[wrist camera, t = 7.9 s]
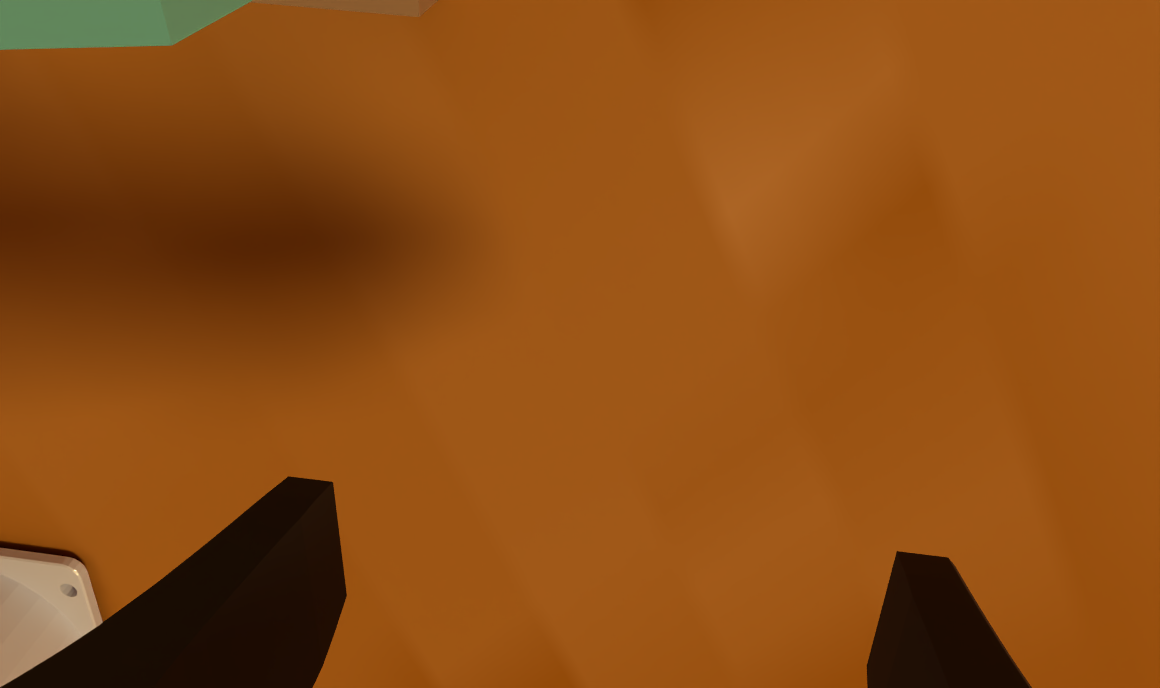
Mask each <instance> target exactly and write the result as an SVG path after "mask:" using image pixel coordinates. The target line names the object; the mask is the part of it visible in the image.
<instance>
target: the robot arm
mask: <svg viewBox="0 0 1160 688" xmlns="http://www.w3.org/2000/svg"><path fill="white" fill-rule="evenodd" d="M346 596H347V594H346V586H345V578H344V569H343V561H342V553H341V545H340V537H339V528H338V520H337V512H336V504H335V495H334V487H333V482H329V481H321V480H313V479H304V478H296V477H287V478H286V479H285V480H283V481H282V482H281V483H280V484H278V485H277V486H276V487H275V488H273V489H272V490H271V491H270V492H268V493H267V494H266V495H265V496H263V497H262V498H261V499H260V500H259V501H257V502H256V503H255V504H254V505H253V506H251V507H250V508H249V509H248V510H247V511H245V512H244V513H243V514H242V515H241V516H239V517H238V518H237V519H236V520H234V521H233V522H232V523H231V524H230V525H228V526H227V527H226V528H225V529H224V530H222V531H221V532H220V533H219V534H218V535H216V536H215V537H214V538H213V539H211V540H210V541H209V542H208V543H207V544H205V545H204V546H203V547H202V548H200V549H199V550H198V551H197V552H195V553H194V554H193V555H192V556H190V557H189V558H188V559H186V560H185V561H184V562H183V563H181V564H180V565H179V566H178V567H176V568H175V569H174V570H173V571H171V572H170V573H169V574H168V575H166V576H165V577H164V578H163V579H161V580H160V581H159V582H157V583H156V584H155V585H153V586H152V587H151V588H149V589H148V590H147V591H145V592H144V593H143V594H141V595H140V596H138V597H137V598H136V599H134V600H133V601H132V602H130V603H129V604H127V605H126V606H125V607H123V608H122V609H121V610H119V611H118V612H116V613H115V614H114V615H112V616H111V617H110V618H108V619H107V620H105V621H104V622H102V618H101V615H100V612H99V608H98V605H97V602H96V598H95V595H94V592H93V588H92V585H91V582H90V578H89V575H88V572H87V570H86V568H85V566H84V565H83V564H82V563H81V562H80V561H78V560H76V559H75V558H71V557H66V556H58V555H51V554H44V553H36V552H29V551H22V550H14V549H7V548H0V688H312V687H313V685H314V683H315V681H316V679H317V677H318V675H319V673H320V671H321V668H322V666H323V664H324V661H325V658H326V655H327V652H328V650H329V647H330V644H331V641H332V638H333V636H334V633H335V630H336V627H337V624H338V620H339V617H340V614H341V611H342V608H343V605H344V602H345V599H346ZM867 684H868V688H1032V687H1031V686H1030V684H1029V683H1028V681H1027V680H1026V679H1025V677H1024V676H1023V674H1022V673H1021V671H1020V670H1019V668H1018V667H1017V665H1016V664H1015V662H1014V661H1013V659H1012V658H1011V656H1010V655H1009V653H1008V652H1007V650H1006V649H1005V647H1004V646H1003V644H1002V642H1001V641H1000V639H999V638H998V636H997V635H996V633H995V631H994V630H993V628H992V627H991V625H990V623H989V622H988V620H987V619H986V617H985V615H984V614H983V612H982V611H981V609H980V607H979V606H978V604H977V602H976V601H975V599H974V597H973V596H972V594H971V592H970V591H969V589H968V587H967V586H966V584H965V582H964V581H963V579H962V577H961V576H960V574H959V572H958V570H957V569H956V567H955V566H954V564H953V563H952V562H951V561H950V559H949V558H947V557H939V556H931V555H923V554H915V553H907V552H898V551H897V553H896V557H895V561H894V564H893V568H892V572H891V576H890V580H889V583H888V587H887V591H886V595H885V599H884V603H883V606H882V610H881V614H880V618H879V622H878V625H877V629H876V633H875V637H874V641H873V644H872V648H871V652H870V656H869V660H868V663H867Z"/></svg>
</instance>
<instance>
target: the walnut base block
mask: <svg viewBox="0 0 1160 688" xmlns="http://www.w3.org/2000/svg"><path fill="white" fill-rule="evenodd" d="M437 1H438V0H253V1H251V2H254V3H265V4H277V5H288V6H299V7H311V8H322V9H334V10H345V11H357V12H368V13H380V14H391V15H402V16H414V17H420V16H421V15H422V14H423V13H424V12H425V11H427V10H428V9H429V8H430V7H431V6H432V5H433V4H434V3H435V2H437Z"/></svg>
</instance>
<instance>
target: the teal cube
mask: <svg viewBox="0 0 1160 688" xmlns="http://www.w3.org/2000/svg"><path fill="white" fill-rule="evenodd" d="M251 1H253V0H0V50H2V49H44V48H85V47H126V46H168V45H174V44H175V43H177V42H179V41H181V40H183V39H184V38H186V37H188V36H190V35H192V34H193V33H195V32H197V31H199V30H200V29H202V28H204V27H206V26H208V25H209V24H211V23H213V22H215V21H217V20H218V19H220V18H222V17H224V16H226V15H227V14H229V13H231V12H233V11H235V10H236V9H238V8H240V7H242V6H244V5H245V4H247V3H249V2H251Z"/></svg>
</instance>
